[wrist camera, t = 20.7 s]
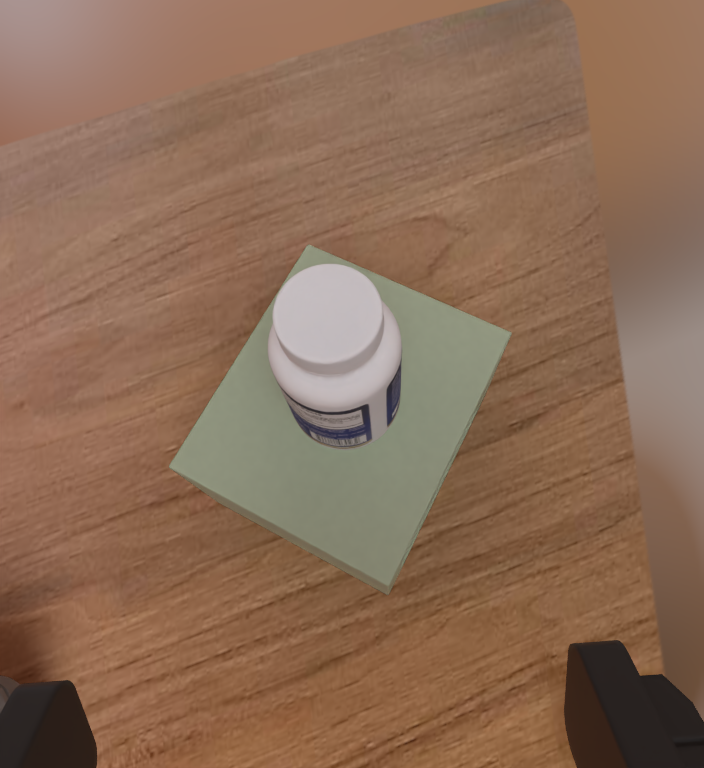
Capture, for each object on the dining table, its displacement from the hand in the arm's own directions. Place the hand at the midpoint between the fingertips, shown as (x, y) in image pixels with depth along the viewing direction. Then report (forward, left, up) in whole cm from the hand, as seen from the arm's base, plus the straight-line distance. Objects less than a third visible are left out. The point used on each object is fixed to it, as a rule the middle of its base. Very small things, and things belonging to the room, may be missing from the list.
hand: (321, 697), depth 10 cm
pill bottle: (+6, -10, -19) cm, 22 cm away
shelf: (+6, -10, -29) cm, 31 cm away
